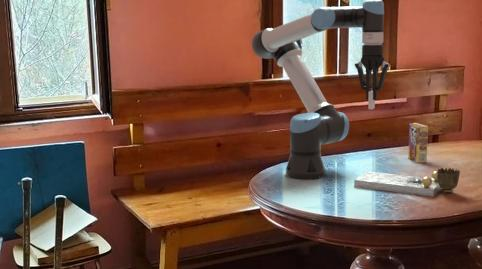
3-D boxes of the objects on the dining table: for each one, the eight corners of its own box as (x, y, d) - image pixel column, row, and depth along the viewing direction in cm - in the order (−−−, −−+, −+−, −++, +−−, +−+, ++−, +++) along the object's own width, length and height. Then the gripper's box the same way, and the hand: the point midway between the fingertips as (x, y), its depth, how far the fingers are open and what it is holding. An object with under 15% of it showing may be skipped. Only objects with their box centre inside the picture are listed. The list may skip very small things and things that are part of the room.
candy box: (427, 162, 258) (428, 126, 255) (418, 163, 257) (419, 126, 254) (417, 157, 266) (418, 122, 264) (407, 158, 266) (408, 123, 263)
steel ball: (409, 183, 219) (417, 179, 217) (412, 181, 222) (420, 176, 220) (415, 191, 218) (423, 187, 217) (418, 189, 221) (426, 184, 219)
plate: (354, 186, 224) (354, 179, 224) (367, 177, 236) (367, 171, 235) (433, 196, 210) (433, 189, 209) (443, 186, 221) (443, 179, 221)
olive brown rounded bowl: (455, 197, 209) (456, 173, 207) (433, 194, 213) (434, 171, 211) (461, 191, 215) (462, 169, 214) (439, 188, 219) (440, 166, 217)
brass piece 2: (430, 181, 219) (430, 171, 219) (432, 179, 222) (433, 169, 222) (440, 182, 218) (440, 173, 217) (442, 180, 221) (442, 170, 220)
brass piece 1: (420, 187, 212) (420, 177, 212) (422, 184, 215) (423, 175, 214) (430, 188, 210) (430, 178, 210) (432, 186, 213) (433, 176, 213)
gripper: (351, 44, 226) (351, 109, 230) (386, 44, 219) (385, 111, 224) (359, 43, 232) (358, 106, 237) (393, 43, 226) (392, 108, 230)
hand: (371, 108), depth 230 cm, fingers closed
